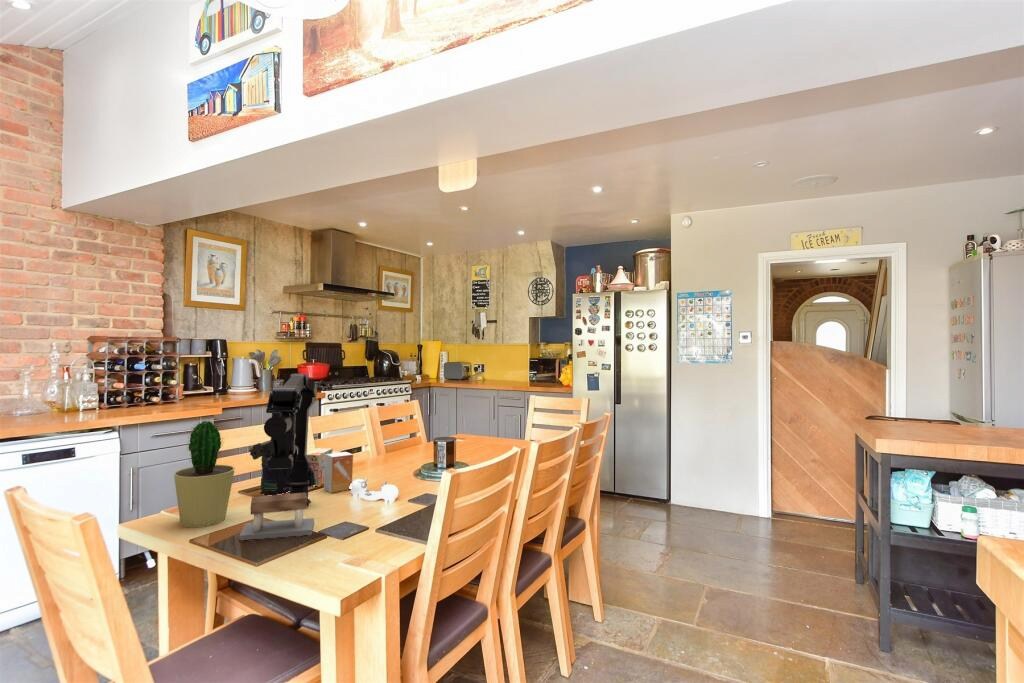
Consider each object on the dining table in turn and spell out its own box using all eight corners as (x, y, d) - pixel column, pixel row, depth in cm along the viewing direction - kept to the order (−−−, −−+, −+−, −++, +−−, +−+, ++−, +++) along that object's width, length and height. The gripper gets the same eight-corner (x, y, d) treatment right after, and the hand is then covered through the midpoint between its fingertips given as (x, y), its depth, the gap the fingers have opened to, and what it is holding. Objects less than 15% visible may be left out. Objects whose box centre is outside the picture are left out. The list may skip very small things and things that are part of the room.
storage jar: (271, 487, 184) (272, 446, 184) (296, 489, 183) (297, 447, 183) (254, 495, 174) (255, 451, 175) (280, 496, 173) (281, 453, 173)
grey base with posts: (246, 528, 142) (246, 505, 143) (314, 523, 148) (314, 500, 148) (238, 541, 133) (239, 516, 133) (311, 535, 139) (312, 511, 139)
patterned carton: (326, 473, 207) (327, 443, 208) (341, 473, 207) (342, 443, 207) (301, 487, 186) (302, 453, 186) (317, 487, 186) (318, 454, 186)
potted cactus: (241, 520, 148) (244, 419, 149) (181, 534, 137) (185, 424, 138) (223, 508, 159) (226, 414, 159) (165, 520, 147) (169, 418, 148)
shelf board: (305, 502, 146) (305, 492, 146) (306, 508, 141) (306, 498, 141) (251, 508, 140) (251, 497, 140) (250, 514, 135) (250, 503, 135)
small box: (331, 493, 178) (332, 456, 178) (323, 489, 183) (324, 454, 183) (352, 489, 184) (353, 454, 184) (344, 486, 188) (345, 451, 189)
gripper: (258, 426, 149) (257, 479, 149) (246, 438, 131) (244, 498, 131) (299, 425, 153) (297, 477, 153) (292, 437, 135) (290, 495, 135)
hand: (282, 486), depth 143 cm, fingers open, 9 cm apart
